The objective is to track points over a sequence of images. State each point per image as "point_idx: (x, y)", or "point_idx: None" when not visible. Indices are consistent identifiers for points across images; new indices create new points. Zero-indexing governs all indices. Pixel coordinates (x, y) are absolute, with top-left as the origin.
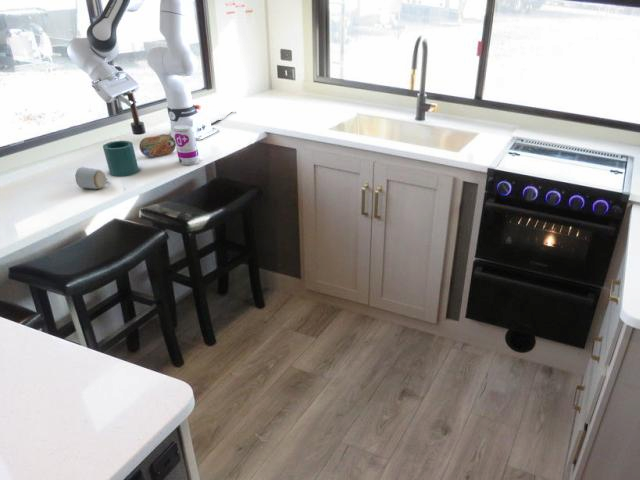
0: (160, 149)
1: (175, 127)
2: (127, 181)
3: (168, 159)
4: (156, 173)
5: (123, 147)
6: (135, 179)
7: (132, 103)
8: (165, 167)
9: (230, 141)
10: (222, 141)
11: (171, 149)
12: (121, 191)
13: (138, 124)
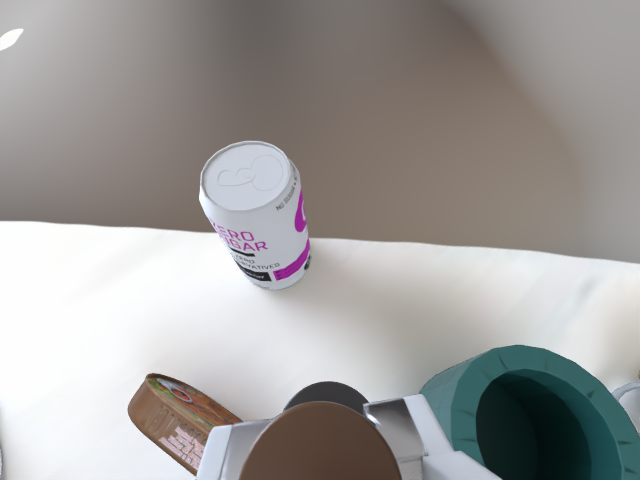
0: (222, 421)
1: (261, 200)
2: (537, 334)
3: (271, 352)
4: (417, 291)
5: (550, 362)
6: (504, 320)
7: (374, 404)
8: (353, 302)
9: (24, 263)
10: (22, 289)
11: (186, 391)
12: (607, 286)
13: (353, 399)
